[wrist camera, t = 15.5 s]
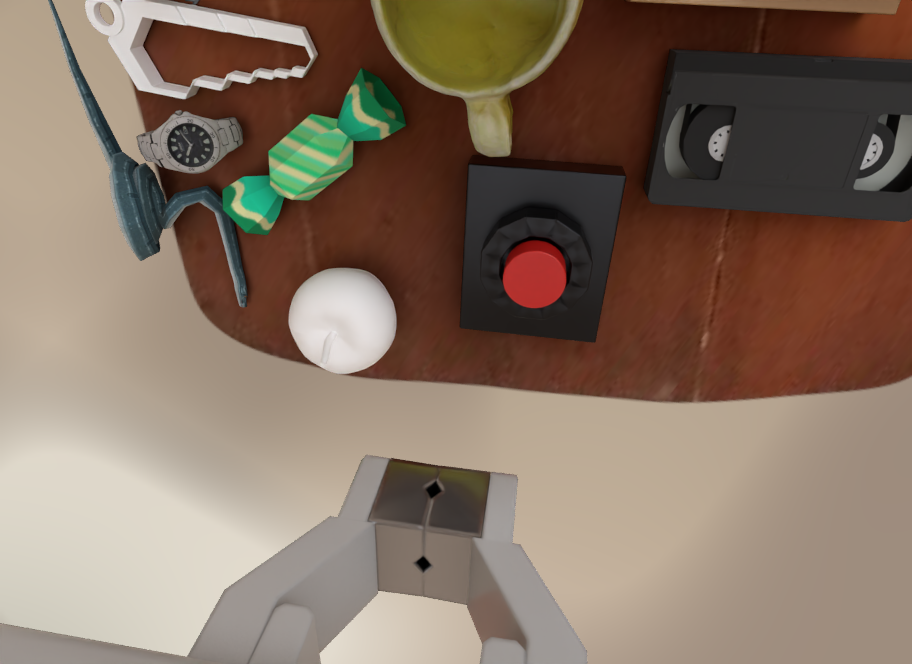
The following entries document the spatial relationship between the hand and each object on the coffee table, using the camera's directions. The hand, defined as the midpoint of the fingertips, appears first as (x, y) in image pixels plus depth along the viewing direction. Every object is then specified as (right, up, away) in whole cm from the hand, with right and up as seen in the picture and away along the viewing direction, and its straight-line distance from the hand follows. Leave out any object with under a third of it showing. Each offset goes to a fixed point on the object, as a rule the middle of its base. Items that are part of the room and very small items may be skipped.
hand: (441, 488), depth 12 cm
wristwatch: (-16, +16, +26) cm, 35 cm away
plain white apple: (-7, +6, +31) cm, 32 cm away
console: (+5, +9, +27) cm, 29 cm away
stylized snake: (-21, +12, +25) cm, 35 cm away
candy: (-8, +14, +26) cm, 31 cm away
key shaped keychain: (-14, +19, +22) cm, 32 cm away
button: (+5, +7, +24) cm, 25 cm away
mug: (+2, +20, +21) cm, 29 cm away
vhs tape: (+19, +14, +22) cm, 32 cm away
